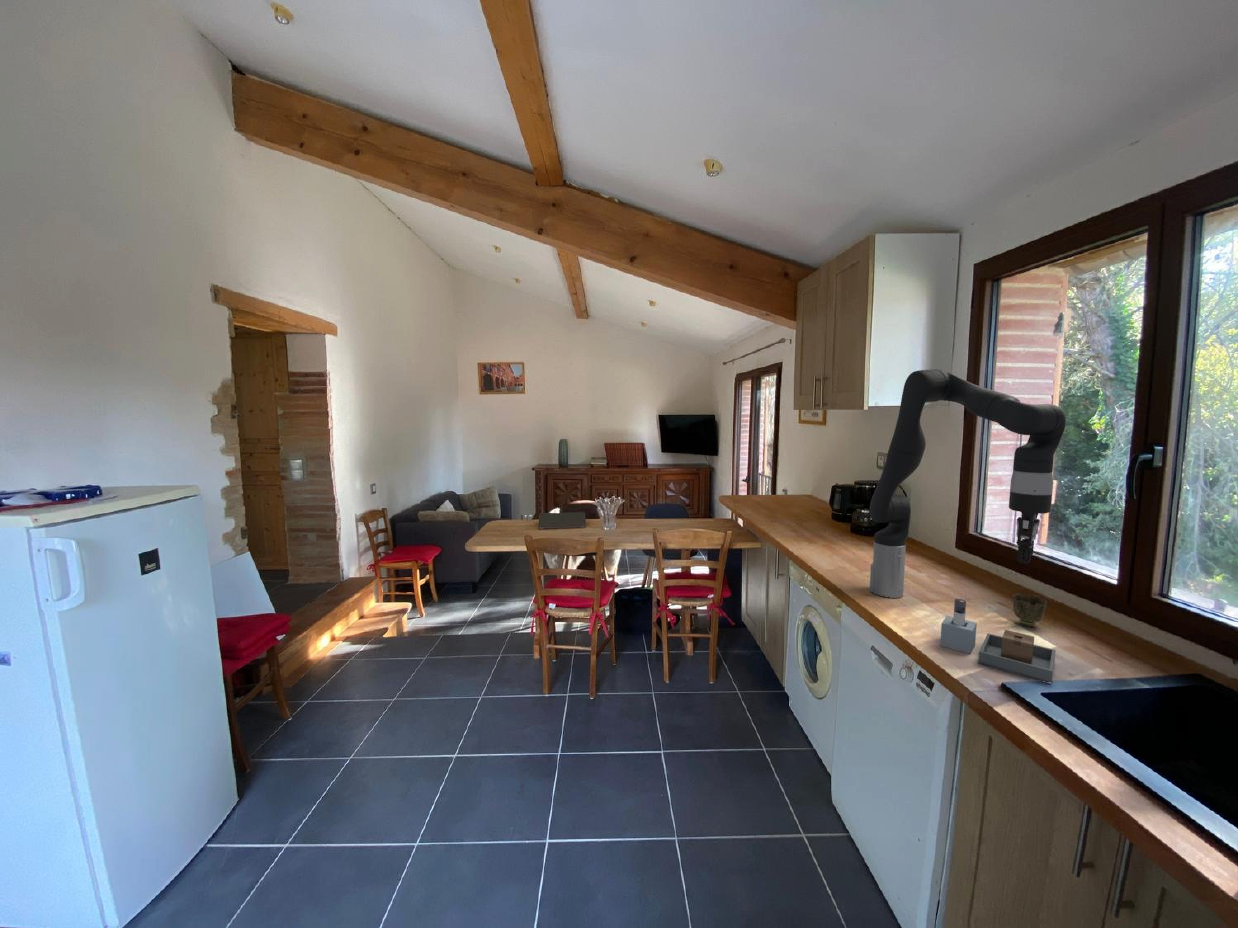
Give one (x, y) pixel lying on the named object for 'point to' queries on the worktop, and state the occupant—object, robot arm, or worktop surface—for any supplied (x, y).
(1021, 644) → the walnut block
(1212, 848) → the worktop surface
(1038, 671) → the tray
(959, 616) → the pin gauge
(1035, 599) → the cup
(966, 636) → the grey socket cube
